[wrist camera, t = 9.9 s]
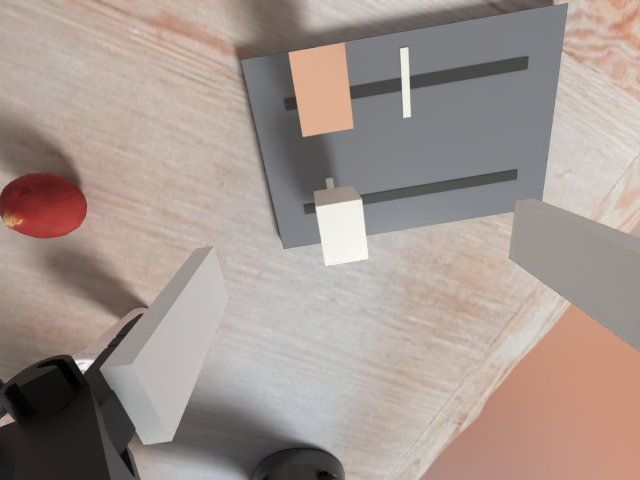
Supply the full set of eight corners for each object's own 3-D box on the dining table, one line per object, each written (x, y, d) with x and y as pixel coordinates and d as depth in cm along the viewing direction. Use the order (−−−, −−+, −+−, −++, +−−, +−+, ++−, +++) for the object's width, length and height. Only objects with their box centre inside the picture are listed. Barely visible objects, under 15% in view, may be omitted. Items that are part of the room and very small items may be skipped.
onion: (34, 199, 31) (-51, 224, 23) (58, 154, 29) (-25, 167, 22) (90, 232, 32) (26, 267, 25) (115, 192, 31) (55, 216, 23)
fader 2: (353, 225, 32) (368, 258, 24) (320, 230, 32) (325, 265, 24) (347, 178, 30) (362, 199, 22) (312, 184, 30) (315, 206, 22)
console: (531, 203, 33) (541, 207, 32) (284, 243, 34) (283, 249, 32) (554, 8, 27) (569, 2, 25) (244, 63, 27) (240, 59, 26)
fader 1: (340, 125, 28) (353, 128, 20) (303, 131, 28) (302, 136, 20) (333, 63, 26) (344, 42, 18) (293, 70, 26) (288, 52, 18)
